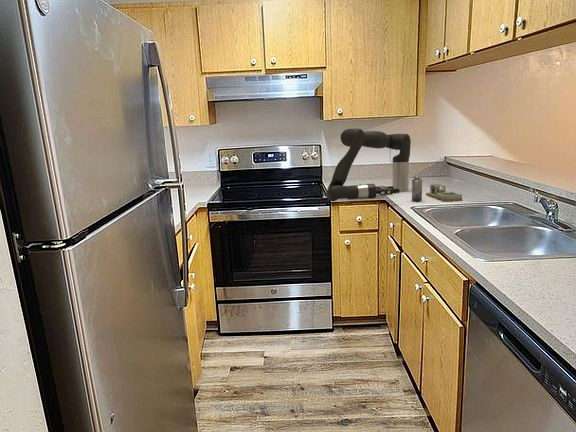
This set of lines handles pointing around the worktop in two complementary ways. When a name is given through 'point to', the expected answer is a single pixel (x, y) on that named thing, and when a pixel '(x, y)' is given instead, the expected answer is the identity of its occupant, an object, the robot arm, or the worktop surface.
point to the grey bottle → (417, 189)
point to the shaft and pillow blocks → (437, 188)
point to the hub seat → (449, 195)
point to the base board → (441, 198)
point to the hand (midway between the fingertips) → (396, 189)
